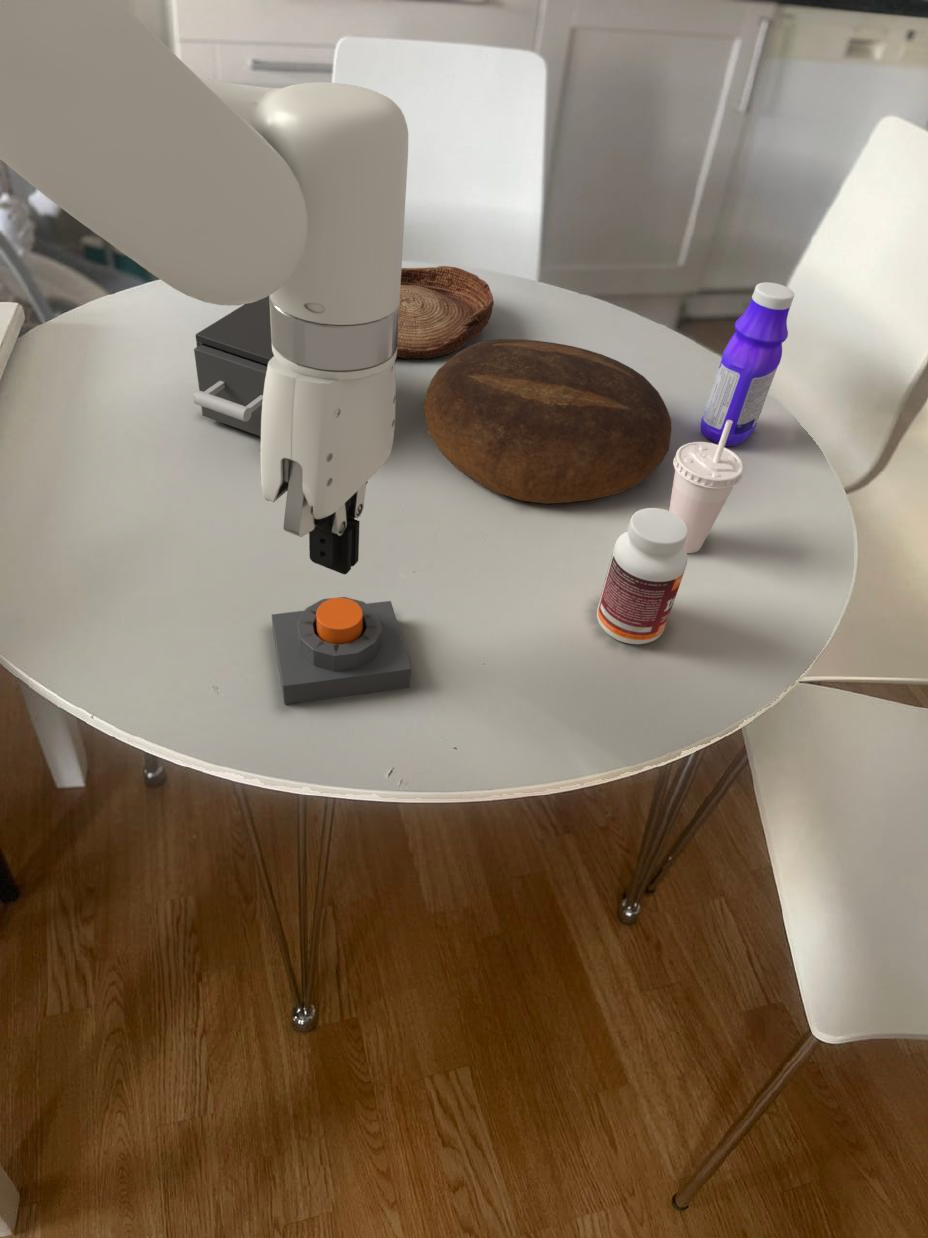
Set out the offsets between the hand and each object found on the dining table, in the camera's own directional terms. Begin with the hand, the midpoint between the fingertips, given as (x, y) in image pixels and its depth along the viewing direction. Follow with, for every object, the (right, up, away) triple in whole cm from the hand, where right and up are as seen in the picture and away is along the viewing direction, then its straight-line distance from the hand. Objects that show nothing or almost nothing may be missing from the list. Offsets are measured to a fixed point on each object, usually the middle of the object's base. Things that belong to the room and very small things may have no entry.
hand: (334, 561), depth 65 cm
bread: (+19, +16, +35) cm, 43 cm away
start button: (0, -5, +5) cm, 7 cm away
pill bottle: (+24, -5, +14) cm, 29 cm away
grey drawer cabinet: (-10, +20, +35) cm, 41 cm away
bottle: (+40, +17, +39) cm, 59 cm away
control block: (-1, -8, +8) cm, 11 cm away
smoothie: (+31, +3, +23) cm, 39 cm away
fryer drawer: (-11, +18, +32) cm, 38 cm away
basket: (+2, +34, +51) cm, 62 cm away
